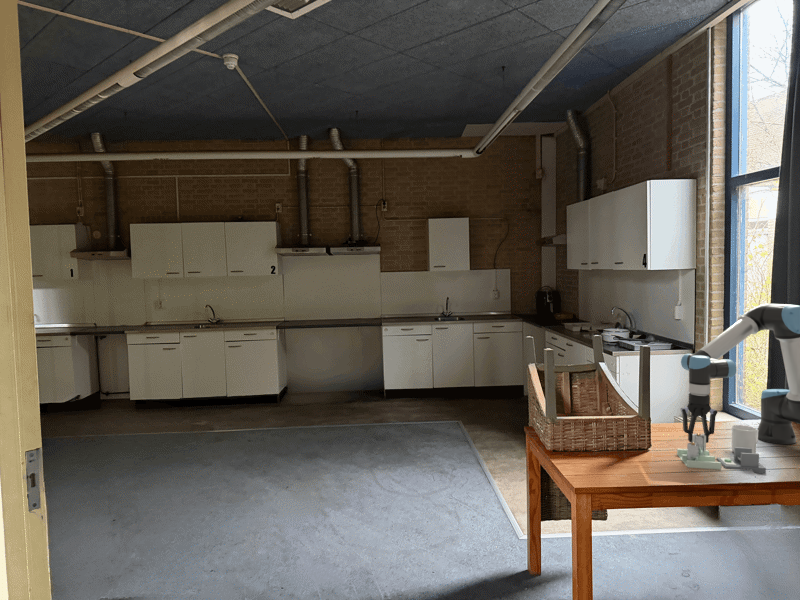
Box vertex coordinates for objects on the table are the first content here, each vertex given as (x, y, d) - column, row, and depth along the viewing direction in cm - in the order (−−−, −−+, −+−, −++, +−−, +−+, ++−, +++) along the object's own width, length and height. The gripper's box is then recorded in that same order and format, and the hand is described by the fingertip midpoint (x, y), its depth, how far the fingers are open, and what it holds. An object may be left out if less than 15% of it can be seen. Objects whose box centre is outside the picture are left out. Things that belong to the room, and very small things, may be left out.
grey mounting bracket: (754, 464, 219) (755, 447, 218) (765, 473, 209) (766, 455, 208) (716, 462, 222) (716, 445, 221) (725, 471, 212) (725, 453, 212)
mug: (745, 458, 226) (745, 431, 225) (726, 451, 234) (726, 426, 233) (766, 454, 229) (767, 428, 229) (747, 448, 238) (747, 423, 237)
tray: (708, 458, 225) (708, 450, 225) (721, 472, 211) (721, 463, 211) (677, 457, 228) (677, 448, 228) (687, 470, 214) (687, 461, 213)
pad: (750, 458, 216) (750, 456, 216) (755, 462, 212) (755, 460, 212) (737, 457, 217) (737, 456, 217) (741, 462, 213) (741, 460, 213)
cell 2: (702, 453, 224) (702, 432, 223) (704, 456, 220) (705, 435, 219) (691, 452, 225) (691, 432, 224) (693, 455, 221) (694, 434, 221)
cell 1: (696, 462, 218) (696, 441, 218) (699, 466, 214) (700, 444, 214) (685, 462, 219) (686, 441, 219) (688, 465, 215) (689, 444, 215)
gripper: (718, 392, 223) (717, 448, 224) (674, 390, 227) (673, 445, 228) (724, 396, 216) (723, 454, 217) (679, 395, 219) (678, 451, 221)
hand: (698, 449), depth 222 cm, fingers closed on cell 2, 3 cm apart
